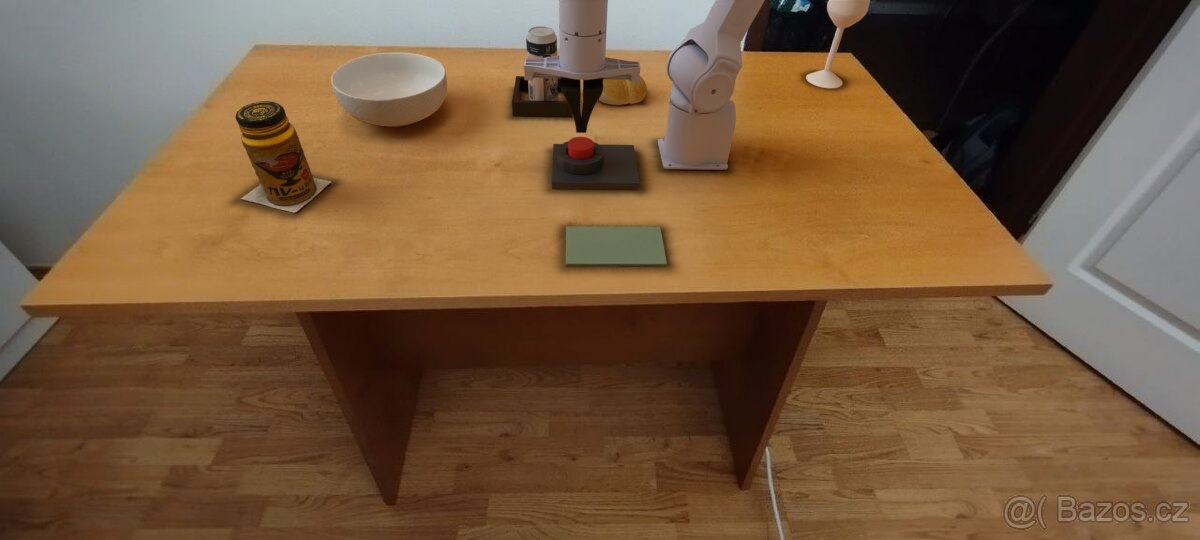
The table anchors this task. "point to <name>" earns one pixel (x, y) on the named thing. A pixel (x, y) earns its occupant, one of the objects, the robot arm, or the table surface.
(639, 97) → the bread roll
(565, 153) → the control block
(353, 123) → the table surface
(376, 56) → the cereal bowl
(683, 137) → the robot arm
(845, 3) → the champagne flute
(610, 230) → the mat
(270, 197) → the condiment
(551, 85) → the beer can
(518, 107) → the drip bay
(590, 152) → the button
